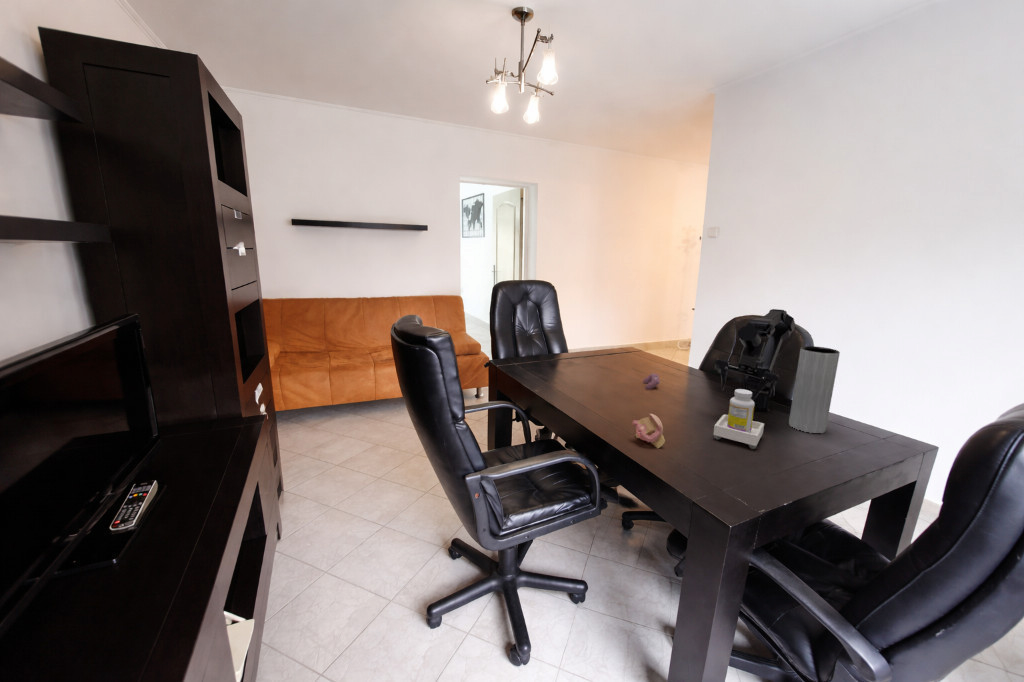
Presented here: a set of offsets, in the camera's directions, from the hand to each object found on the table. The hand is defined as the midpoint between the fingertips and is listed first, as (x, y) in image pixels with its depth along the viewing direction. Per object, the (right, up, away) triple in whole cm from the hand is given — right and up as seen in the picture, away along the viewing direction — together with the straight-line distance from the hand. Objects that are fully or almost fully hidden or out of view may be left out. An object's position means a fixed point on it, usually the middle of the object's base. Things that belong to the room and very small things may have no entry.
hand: (737, 394), depth 132 cm
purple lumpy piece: (-14, -2, +42) cm, 45 cm away
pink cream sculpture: (-33, -14, -11) cm, 37 cm away
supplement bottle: (-4, -10, -8) cm, 14 cm away
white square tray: (-4, -13, -8) cm, 16 cm away
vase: (+23, -11, 0) cm, 26 cm away
